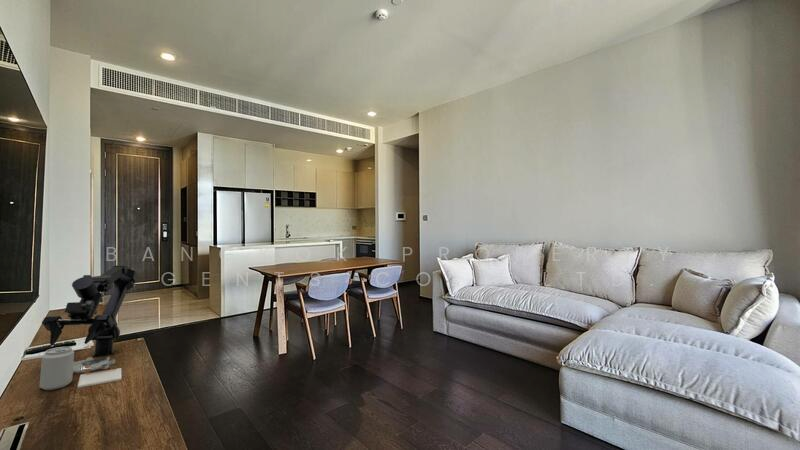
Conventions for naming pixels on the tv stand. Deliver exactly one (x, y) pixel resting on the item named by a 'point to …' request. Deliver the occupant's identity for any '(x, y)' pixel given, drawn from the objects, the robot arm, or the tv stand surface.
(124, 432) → the tv stand surface
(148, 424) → the tv stand surface
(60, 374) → the can
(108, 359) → the sprocket
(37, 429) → the tv stand surface
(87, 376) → the pad
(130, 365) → the tv stand surface
